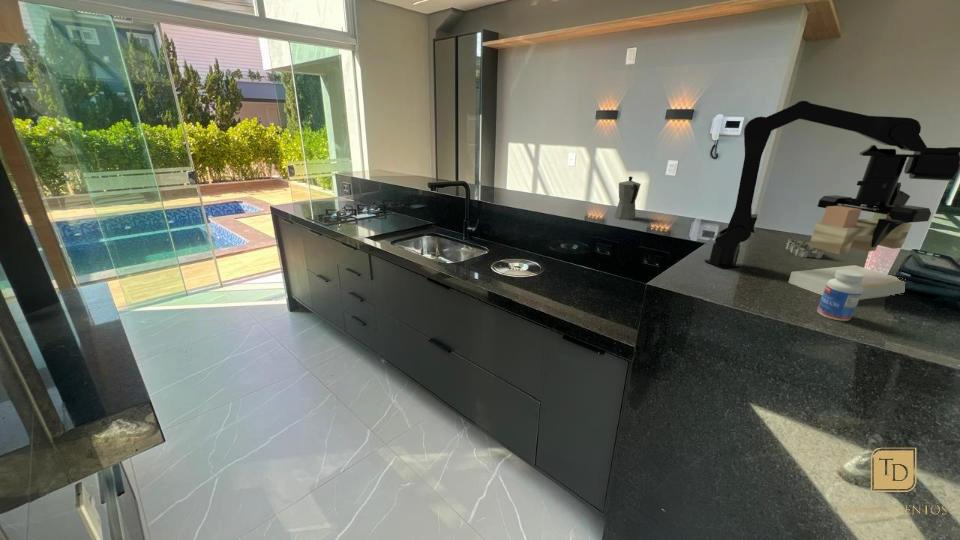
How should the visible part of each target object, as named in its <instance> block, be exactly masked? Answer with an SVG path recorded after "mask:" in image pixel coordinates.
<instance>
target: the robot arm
mask: <svg viewBox="0 0 960 540" xmlns="http://www.w3.org/2000/svg"><path fill="white" fill-rule="evenodd" d="M798 120H802V121H806V122H811V123H814V124H818V125H823V126H827V127H832V128H835V129H836V128H837V129H841V130H843V131H848V132H853V133H856V134H858V135H861V136H863V137H865V138H867V139H869V140H871V141H874V142H876V143H878V144H881V145H884V146H890V147H891V146H892V147H897V148H898V149H900V150H902V151H908V152H913V154H911V153H910V154H909V153H907V154H906V153H897V149H896V148H878V147H877V145H875V144H871V145H870V146H869V147H867V148H866V149H864V150H862V151H860V152H859V155H860V156H863V157H869V160H868V162H867V165H866V169H865V172H864V173H863V177H862V180H857V182H856V186H859V189H858V192H857V194H856V197H855V198H853V197H851V196H844V195H823V196H822V197H820V199H819V200H818V203H817V208H822V209H823V208H824V209H826V207H827V206H844V207H851V208H857V209H862V210H861V212H862V211H863V212H870V213H873V214H874V213H881V214H887V217H886V219H879V220H878V223H877V226H876V230H875V233H874V236H873V239H872V245H871V247H877V246H878V245H879V244H880V243H881V241H882V240H883V239H884V238H885V237H886V236H887V235H888V234H889V233H890V232H891V231H893V230H894V229H895V228H896V227H898V226H899V225H901V224H903V223H920V222H921V223H922V222H929V220H930V218H931V216H932V212H931V210H930V208H929V207H925V206H923V207H922V206H915V205H908V204H907V202H908V201H909V199H910V198H911V195H909V194H908V193H906V192H905V191H902V190H901V187H902V182H899V179H900V178H901V177H900V176H901V175H902V171H903V169H904V171H903V173H904V174H905V175H907V174H908V177H909V179H910V180H930V181H946V182H947V181H950V180H952V179H953V178H954V177H955V175H956V174H957V172H958V170H959V169H960V147H959V146H947V147H927V145H926V143H925V142H924V140H923V139H922V137H921V136H920V133H921V130H922V126H921V124H920V123H921V122H920V121H918V120H917V119H914V118H912V117H900V116H883V115H882V116H880V115H867V114H862V113H858V112H853V111H848V110H843V109H839V108H835V107H830V106H826V105H825V106H824V105H820V104H816V103H811V102H809V101H807V100H801V101H797V102H796V103H793V105H791V106H787V107H786V108H784V109H782V110H779V111H777V112H775V113H772V114H770V115H768V116H766V117H765V116H756V117H754V118H751V119H750V120H749V121H748V122H747V123H746V124H745V126H744V129H743V136H744V138H743V140H744V141H743V143H744V159H743V164H742V170H741V177H740V180H739V187H738V192H737V196H736V197H737V198H736V202H735V203H736V204H735V207H734V210H733V212H732V215H731V218H730V220H729V223H728V225H727V227H725V228H724V229H722V230H720V231H718V233H717V234H716V236H715V239H714V240H715V242H713V244H712V249H711V252H710V256H709V259H705V260H704V262H706V263H708V264H710V265H713V266H716V267H718V268H721V269H729V268H730V269H732V268H740V267H741V265H740V264H738V263H737V262H738V257H739V254H740V247H741V244H740V243H743V242H745V241H747V240H749V239H750V238H751V235H752V234H755V232H756V223H757V220H758V213H753V210H752V206H753V205H752V204H753V200H754V195H755V191H756V186H757V181H758V175H759V171H760V166H761V161H762V160H761V159H762V155H763V154H764V151H765V148H766V145H767V143H768V141H769V138H770V136H771V134H772V131H774V130H777V129H779V128H781V127H783V126H785V125H788V124H791V123H793V122H795V121H798ZM905 205H906V206H905ZM890 206H895V207H890ZM878 209H879V210H878ZM752 213H753V214H752Z"/></svg>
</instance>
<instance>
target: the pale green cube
mask: <svg viewBox="0 0 960 540" xmlns="http://www.w3.org/2000/svg"><path fill="white" fill-rule="evenodd" d="M906 205H907V204H905V206H906ZM890 207H895V206H890ZM878 210H879V209H878ZM886 217H887V214H881V213H874V212H873V215H872V217H871V218H872V220H877V221H878V220H879V219H886Z"/></svg>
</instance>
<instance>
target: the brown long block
mask: <svg viewBox="0 0 960 540" xmlns="http://www.w3.org/2000/svg"><path fill="white" fill-rule="evenodd" d="M872 218H873V217H871V218H858V221H857V224H856V227H845V228H842V227H837V226H832V225H827V224H822V223H821V222H822V221H817V222H816V223H815V226H814V229H813V232H812V235H811V238H810V241H809V242H810V244H809V247H813V248H817V249H821V250H823V251H825V252H828V253H833V254H836V255H842V254H843V255H845V254H846V255H847V254H849V252H850V249H854V250H855V249H856V250H859V251H864V252H869V251H876V248H877V247H871V245H872V239H873V236H874V233H875V230H876V226H877V223H878V221H877V220H872ZM912 225H913V224H912V222H910V223H903V224H901V225H899V226H898V227H896V228H895V229H894V230H893V231H891V232H890V233H889V234H888V235H887V236H886V237H885V238H884V239H883V240H882V241H881V243H880V244H879V246H883V247H888V248H892V249H896V248H901V249H903V248H902V246H903V245H904V243H905V241H906V239H907V236H908V234H909V232H910V229H911V227H912ZM903 247H904V246H903Z"/></svg>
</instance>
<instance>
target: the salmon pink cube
mask: <svg viewBox="0 0 960 540" xmlns="http://www.w3.org/2000/svg"><path fill="white" fill-rule="evenodd" d="M861 213H862V209H857V208H851V207H844V206H827V207H826V208H825V210H824V213H823V217H822V219H821V221H820V222H821V223H822V224H827V225H832V226H837V227H842V228H845V227H856V224H857V221H858V219H860V215H861Z"/></svg>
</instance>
